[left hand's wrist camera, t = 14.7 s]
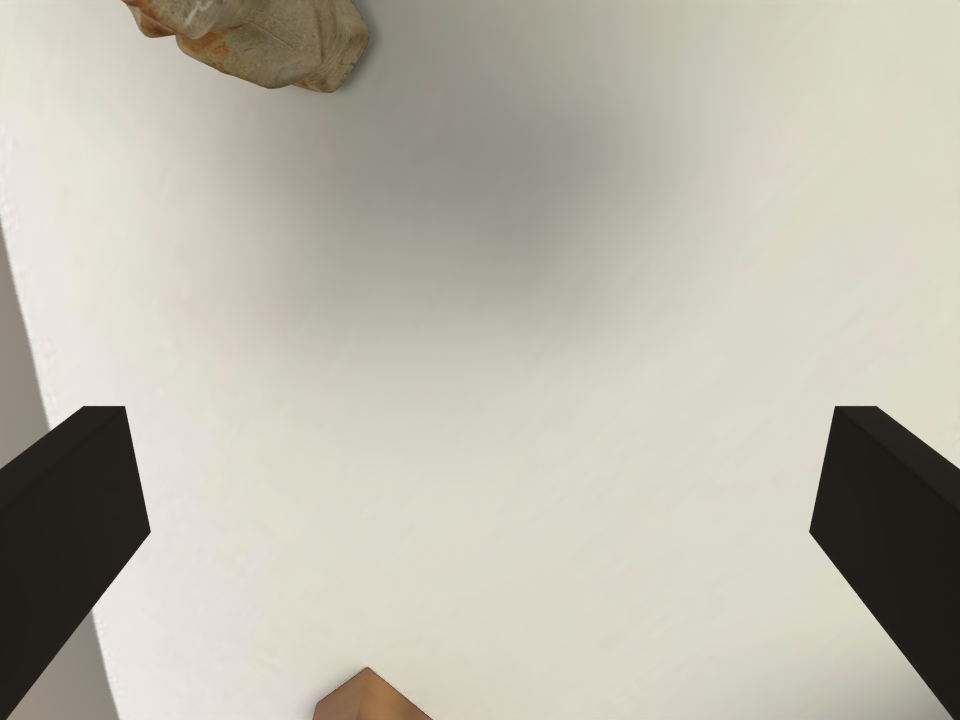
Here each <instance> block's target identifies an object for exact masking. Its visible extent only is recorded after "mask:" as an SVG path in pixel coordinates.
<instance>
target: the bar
mask: <svg viewBox="0 0 960 720" xmlns="http://www.w3.org/2000/svg"><path fill="white" fill-rule="evenodd" d="M313 720H432V719H430V718H429V717H428V716H427V715H425V714H424V713H423V712H422V711H421V710H419V709H418V708H417V707H416V706H414V705H413V704H412V703H411V702H410V701H408V700H407V699H406V698H405V697H404V696H402V695H401V694H400V693H399V692H397V691H396V690H395V689H394V688H393V687H391V686H390V685H389V684H388V683H386V682H385V681H384V680H383V679H382V678H380V677H379V676H378V675H377V674H375V673H374V672H373V671H372V670H371V669H369V668H368V667H367V668H366V669H364V670H363V671H362V672H360V673H359V674H357V675H356V676H355V677H353V678H352V679H351V680H349V681H348V682H346V683H345V684H344V685H342V686H341V687H339V688H338V689H337V690H335V691H334V692H333V693H331V694H330V695H328V696H327V697H326V698H324V699H323V700H321V701H320V702H319V703H317V705H316V709H315V712H314V716H313Z"/></svg>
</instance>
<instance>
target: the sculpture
mask: <svg viewBox="0 0 960 720" xmlns="http://www.w3.org/2000/svg"><path fill="white" fill-rule="evenodd" d="M122 1H123V2H124V3H126V5H127V6H128V8H129V9H130V10H131V12H132V14H133V16H134V18H135V21H136V23H137V25H138V27H139V29H140V31H141V32H142V33H143V34H144V35H145V36H147V37H149V38H157V37H164V36H171V35H176V42H177V44H178V47H179V48H180V49H181V51H182V52H183V53H185V54H186V55H188V56H190V57H191V58H194V59H196V60H198V61H200V62H202V63H204V64H206V65H209V66H211V67H213V68H215V69H217V70H218V71H220V72H222V73H225V74H228V75H232V76H235V77H238V78H241V79H243V80H246V81H249V82H252V83H254V84H257V85H259V86H262V87H265V88H268V89H276V88H281V87H285V86H288V85H291V84H292V85H295V86H299V87H302V88H305V89H309V90H313V91H317V92H325V93H332V92H334V91H336V90H337V89H338V87H339V86H340V85H341V84H342V83H343V81H344V80H345V79H346V77H347V76H348V75H349V73H350V72H351V70H352V69H353V67H354V66H355V64H356V63H357V61H358V60H359V58H360V56H361V55H362V53H363V51H364V49H365V47H366V45H367V43H368V40H369V37H370V33H369V30H368V28H367V26H366V24H365V22H364V21H363V19H362V17H361V15H360V14H359V12H358V10H357V9H356V7H355V6H354V5H353V3H352V2H351V0H122Z"/></svg>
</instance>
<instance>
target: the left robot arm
mask: <svg viewBox="0 0 960 720" xmlns="http://www.w3.org/2000/svg"><path fill="white" fill-rule="evenodd" d="M150 533H151V530H150V526H149V521H148V516H147V511H146V506H145V501H144V496H143V492H142V487H141V482H140V477H139V472H138V467H137V462H136V457H135V453H134V448H133V443H132V438H131V433H130V428H129V423H128V418H127V414H126V409H125V406H83V407H82V408H80V409H79V410H78V411H76V412H75V413H74V414H72V415H71V416H70V417H69V418H67V419H66V420H65V421H63V422H62V423H61V424H59V425H58V426H57V427H55V428H54V429H53V430H51V431H50V432H49V433H47V434H46V435H45V436H44V437H42V438H41V439H40V440H38V441H37V442H36V443H34V444H33V445H32V446H30V447H29V448H28V449H26V450H25V451H24V452H22V453H21V454H20V455H18V456H17V457H16V458H14V459H13V460H12V461H11V462H9V463H8V464H7V465H5V466H4V467H3V468H1V469H0V720H6V719H7V718H8V716H9V715H10V714H11V713H12V711H13V710H14V709H15V707H16V706H17V705H18V704H19V702H20V701H21V700H22V698H23V697H24V696H25V694H26V693H27V692H28V691H29V689H30V688H31V687H32V685H33V684H34V683H35V682H36V680H37V679H38V678H39V676H40V675H41V674H42V672H43V671H44V670H45V669H46V667H47V666H48V665H49V663H50V662H51V661H52V660H53V658H54V657H55V656H56V654H57V653H58V652H59V650H60V649H61V648H62V647H63V645H64V644H65V643H66V641H67V640H68V639H69V637H70V636H71V635H72V634H73V632H74V631H75V630H76V628H77V627H78V626H79V625H80V623H81V622H82V621H83V619H84V618H85V617H86V615H87V614H88V613H89V612H90V610H91V609H92V608H93V606H94V605H95V604H96V603H97V601H98V600H99V599H100V597H101V596H102V595H103V593H104V592H105V591H106V590H107V588H108V587H109V586H110V584H111V583H112V582H113V580H114V579H115V578H116V577H117V575H118V574H119V573H120V571H121V570H122V569H123V568H124V566H125V565H126V564H127V562H128V561H129V560H130V558H131V557H132V556H133V555H134V553H135V552H136V551H137V549H138V548H139V547H140V545H141V544H142V543H143V542H144V540H145V539H146V538H147V536H148V535H149V534H150ZM809 533H810V534H811V535H812V536H813V538H814V539H815V540H816V542H817V543H818V544H819V545H820V547H821V548H822V549H823V551H824V552H825V553H826V555H827V556H828V557H829V558H830V560H831V561H832V562H833V564H834V565H835V566H836V568H837V569H838V570H839V571H840V573H841V574H842V575H843V577H844V578H845V579H846V580H847V582H848V583H849V584H850V586H851V587H852V588H853V590H854V591H855V592H856V593H857V595H858V596H859V597H860V599H861V600H862V601H863V603H864V604H865V605H866V606H867V608H868V609H869V610H870V612H871V613H872V614H873V615H874V617H875V618H876V619H877V621H878V622H879V623H880V625H881V626H882V627H883V628H884V630H885V631H886V632H887V634H888V635H889V636H890V638H891V639H892V640H893V641H894V643H895V644H896V645H897V647H898V648H899V649H900V650H901V652H902V653H903V654H904V656H905V657H906V658H907V660H908V661H909V662H910V663H911V665H912V666H913V667H914V669H915V670H916V671H917V673H918V674H919V675H920V676H921V678H922V679H923V680H924V682H925V683H926V684H927V685H928V687H929V688H930V689H931V691H932V692H933V693H934V695H935V696H936V697H937V698H938V700H939V701H940V702H941V704H942V705H943V706H944V707H945V709H946V710H947V711H948V713H949V714H950V715H951V717H952V718H953V719H954V720H960V469H959V468H957V467H956V466H955V465H953V464H952V463H951V462H949V461H948V460H947V459H946V458H944V457H943V456H942V455H940V454H939V453H938V452H936V451H935V450H934V449H932V448H931V447H930V446H928V445H927V444H926V443H924V442H923V441H922V440H920V439H919V438H918V437H917V436H915V435H914V434H913V433H911V432H910V431H909V430H907V429H906V428H905V427H903V426H902V425H901V424H899V423H898V422H897V421H895V420H894V419H893V418H891V417H890V416H889V415H888V414H886V413H885V412H884V411H882V410H881V409H880V408H878V407H877V406H835V409H834V414H833V418H832V423H831V428H830V433H829V438H828V443H827V448H826V453H825V457H824V462H823V467H822V472H821V477H820V482H819V487H818V492H817V496H816V501H815V506H814V511H813V516H812V521H811V526H810V530H809Z"/></svg>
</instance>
